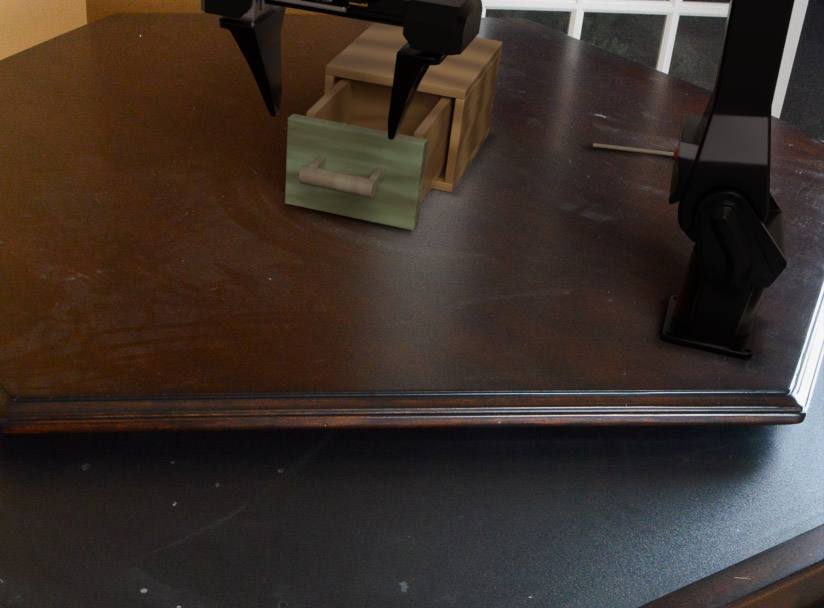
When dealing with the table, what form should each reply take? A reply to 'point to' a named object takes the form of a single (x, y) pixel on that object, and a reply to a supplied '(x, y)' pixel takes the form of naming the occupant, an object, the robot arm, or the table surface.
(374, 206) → the drawer
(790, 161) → the table surface
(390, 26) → the cabinet
